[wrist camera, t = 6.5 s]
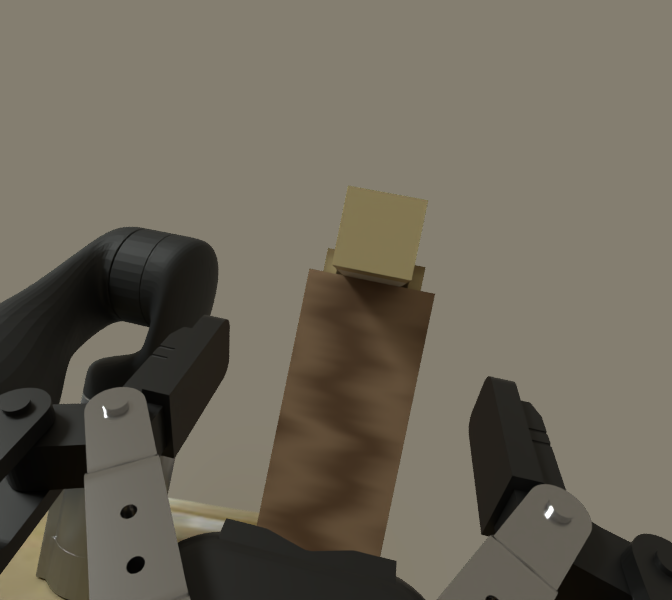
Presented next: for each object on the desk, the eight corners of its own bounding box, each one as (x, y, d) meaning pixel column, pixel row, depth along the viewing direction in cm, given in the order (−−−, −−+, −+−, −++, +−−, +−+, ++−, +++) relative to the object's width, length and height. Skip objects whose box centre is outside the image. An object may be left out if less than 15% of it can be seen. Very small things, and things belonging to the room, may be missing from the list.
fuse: (331, 264, 20) (348, 185, 20) (351, 283, 39) (360, 244, 39) (411, 280, 19) (428, 200, 19) (391, 291, 39) (399, 252, 39)
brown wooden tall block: (196, 770, 27) (304, 241, 27) (246, 635, 38) (323, 259, 38) (337, 813, 26) (450, 270, 26) (347, 663, 37) (427, 279, 37)
